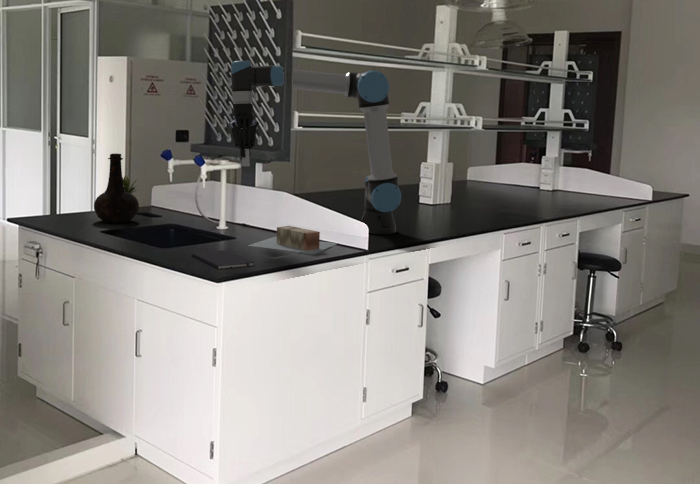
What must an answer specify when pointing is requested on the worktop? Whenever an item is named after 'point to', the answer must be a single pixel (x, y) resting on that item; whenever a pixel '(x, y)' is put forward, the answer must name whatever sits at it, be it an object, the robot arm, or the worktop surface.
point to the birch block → (298, 237)
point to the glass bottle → (116, 197)
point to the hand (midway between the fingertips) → (246, 166)
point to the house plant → (126, 185)
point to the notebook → (222, 259)
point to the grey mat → (273, 245)
